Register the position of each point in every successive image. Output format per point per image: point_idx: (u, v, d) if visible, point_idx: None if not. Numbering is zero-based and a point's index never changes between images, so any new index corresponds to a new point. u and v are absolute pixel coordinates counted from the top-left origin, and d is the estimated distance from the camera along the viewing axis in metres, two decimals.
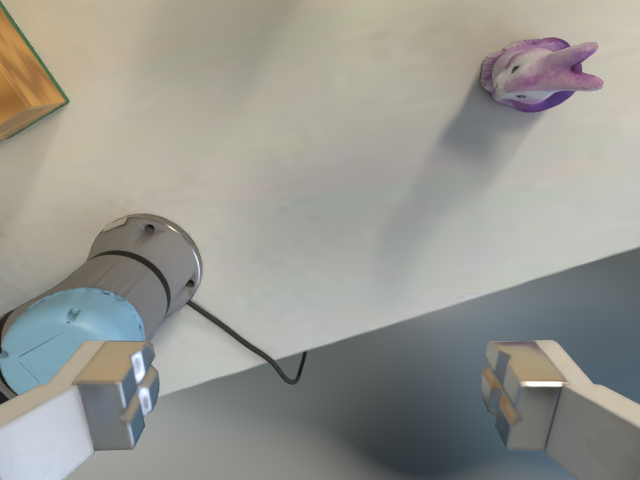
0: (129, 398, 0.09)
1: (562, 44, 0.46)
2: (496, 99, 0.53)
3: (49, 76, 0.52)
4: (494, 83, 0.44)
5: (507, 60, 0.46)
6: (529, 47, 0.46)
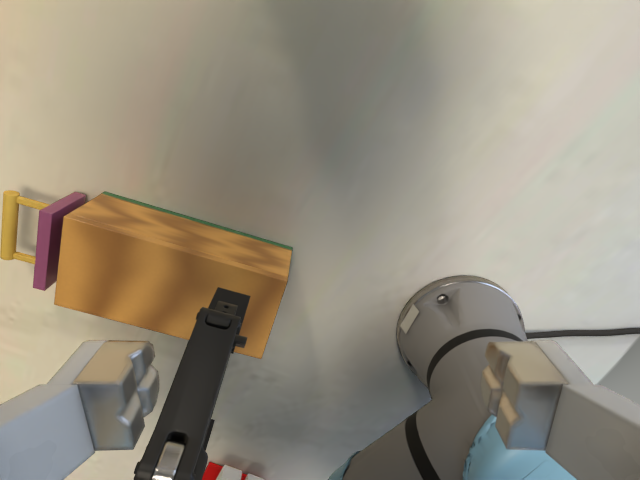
0: (129, 398, 0.09)
1: None
2: None
3: (264, 241, 0.49)
4: None
5: None
6: None
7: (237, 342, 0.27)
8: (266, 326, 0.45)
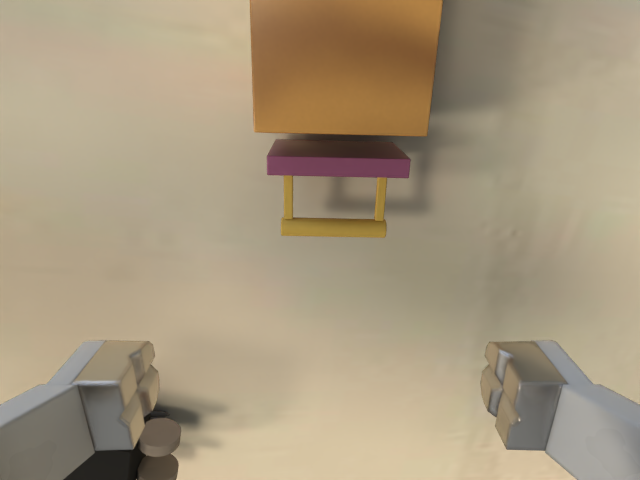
0: (129, 398, 0.09)
1: None
2: None
3: None
4: None
5: None
6: None
7: None
8: None
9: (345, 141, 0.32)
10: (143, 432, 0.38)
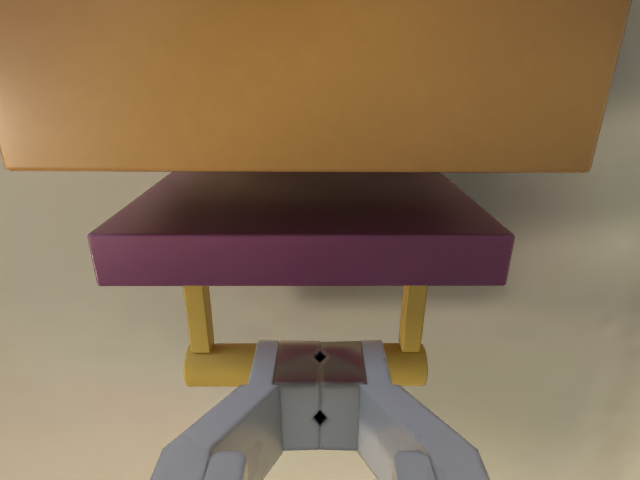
0: None
1: None
2: None
3: None
4: None
5: None
6: None
7: None
8: None
9: None
10: None
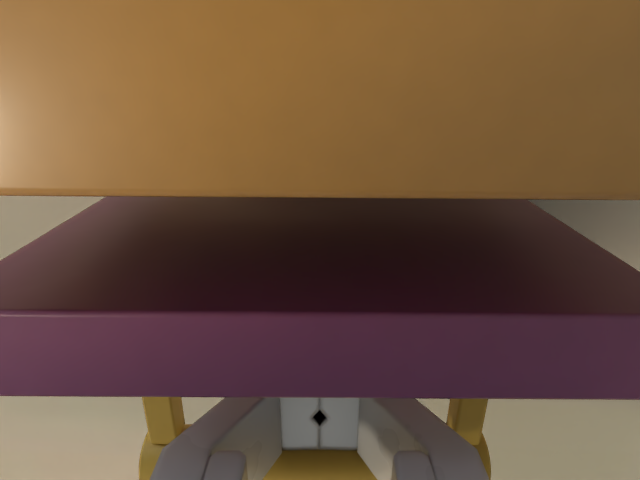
0: None
1: None
2: None
3: None
4: None
5: None
6: None
7: None
8: None
9: None
10: None
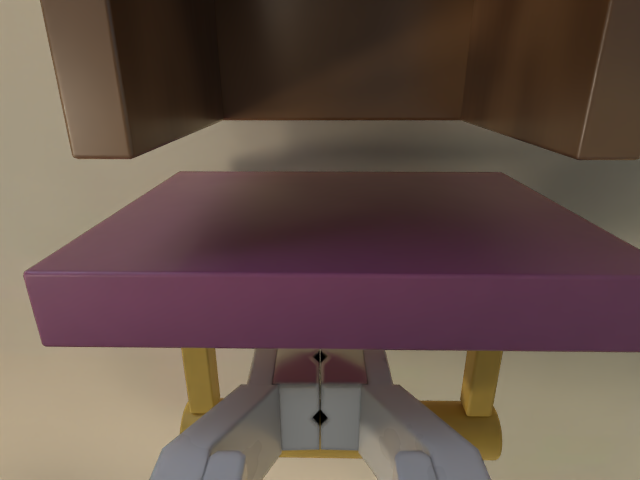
0: (319, 398, 0.09)
1: None
2: None
3: None
4: None
5: None
6: None
7: None
8: None
9: (370, 173, 0.11)
10: None
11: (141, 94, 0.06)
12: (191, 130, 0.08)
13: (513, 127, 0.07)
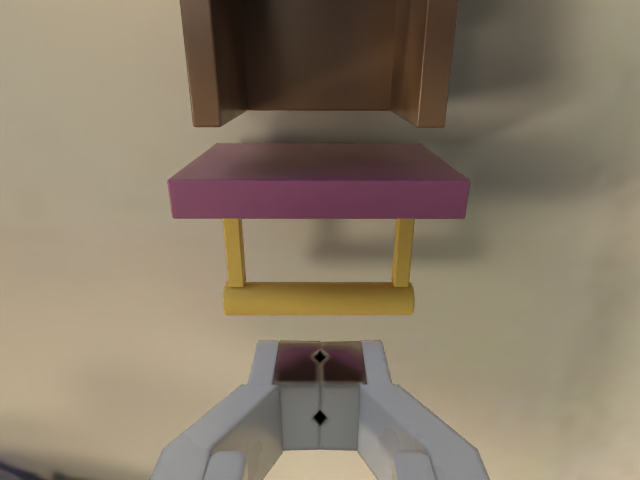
0: None
1: None
2: None
3: None
4: None
5: None
6: None
7: None
8: None
9: (338, 144, 0.18)
10: None
11: (222, 97, 0.12)
12: (236, 115, 0.14)
13: (404, 113, 0.14)
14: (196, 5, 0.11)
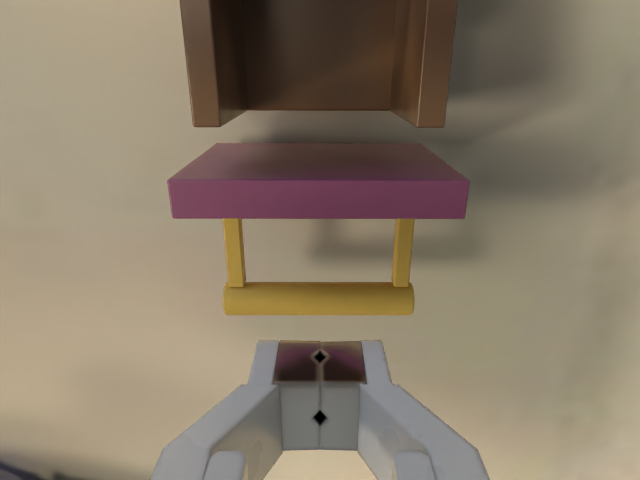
0: None
1: None
2: None
3: None
4: None
5: None
6: None
7: None
8: None
9: (338, 144, 0.18)
10: None
11: (222, 97, 0.12)
12: (236, 115, 0.14)
13: (403, 113, 0.14)
14: (196, 5, 0.11)
